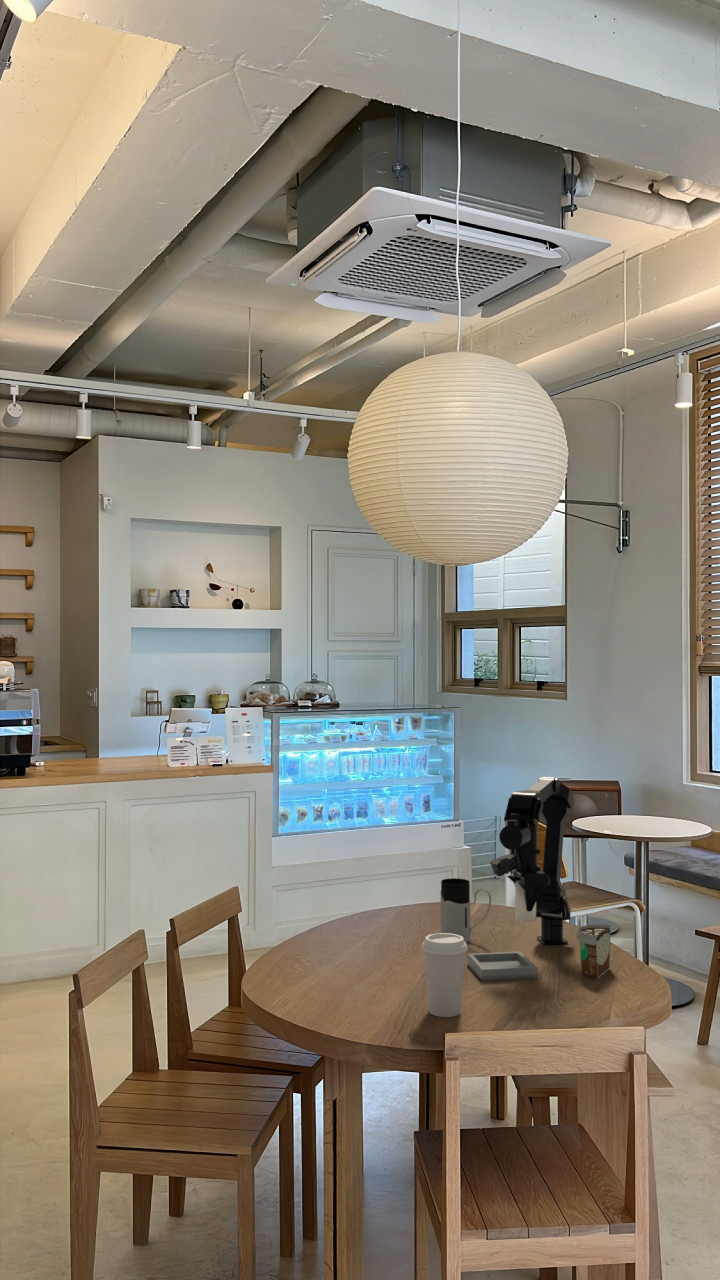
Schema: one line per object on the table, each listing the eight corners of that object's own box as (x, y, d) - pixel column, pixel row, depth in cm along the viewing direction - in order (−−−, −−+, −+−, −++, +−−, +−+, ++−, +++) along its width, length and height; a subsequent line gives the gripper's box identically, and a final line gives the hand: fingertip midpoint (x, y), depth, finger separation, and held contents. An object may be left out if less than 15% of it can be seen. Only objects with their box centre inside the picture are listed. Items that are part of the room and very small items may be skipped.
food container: (586, 963, 234) (585, 921, 234) (611, 967, 230) (611, 924, 231) (569, 976, 223) (568, 932, 223) (595, 980, 220) (595, 936, 220)
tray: (467, 964, 233) (467, 953, 233) (520, 962, 235) (520, 951, 235) (481, 980, 220) (481, 969, 220) (537, 978, 222) (537, 967, 222)
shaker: (512, 917, 238) (512, 880, 239) (532, 916, 239) (532, 879, 239) (519, 922, 233) (518, 884, 234) (539, 921, 234) (538, 883, 234)
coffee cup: (464, 1003, 204) (464, 931, 205) (471, 1019, 195) (470, 943, 195) (419, 1004, 204) (419, 932, 204) (423, 1020, 194) (423, 944, 195)
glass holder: (446, 932, 262) (445, 876, 263) (496, 938, 256) (496, 881, 257) (434, 940, 254) (433, 882, 255) (485, 946, 248) (485, 887, 249)
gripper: (483, 839, 245) (483, 901, 244) (504, 850, 227) (504, 918, 226) (525, 838, 247) (526, 900, 246) (550, 850, 228) (550, 917, 227)
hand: (525, 908), depth 236 cm, fingers closed on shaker, 5 cm apart
